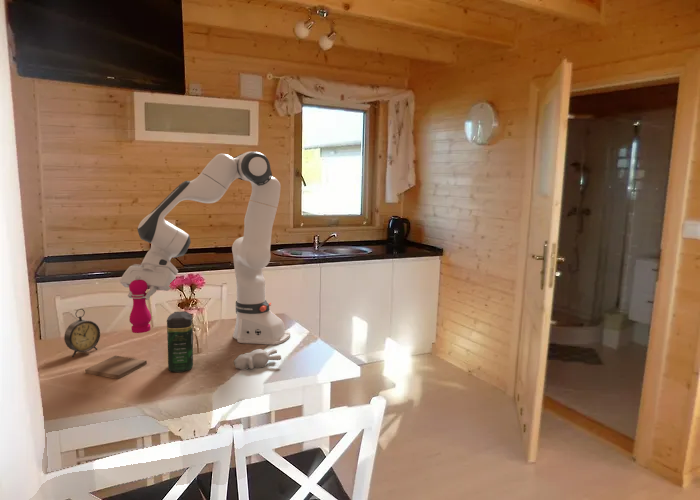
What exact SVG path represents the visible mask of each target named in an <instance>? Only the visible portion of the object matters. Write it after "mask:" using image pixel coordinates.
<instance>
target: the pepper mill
mask: <svg viewBox="0 0 700 500" xmlns="http://www.w3.org/2000/svg"><path fill="white" fill-rule="evenodd" d="M135 279H136V280H134V281H132V282H131V283H130V285H129V287H128V291H129V290H130V291H131V292H132V294H131V295H132V297H131V298H130V299H132V308H131V311H130V314H129V323H130V324H131V325H132V326H131V332H132V333H134V334H142V333H147V332H149V331H151V323H150V322H151V321H152V314H151V311H150V310H149V308H148V306H147V302H146V299H144V298H143V296H144V293H147V290H148V289H147V288H148V286H147V283H146V282H145V281H144V280H140V279H141V277H140V276H139V275H137V276H136V277H135Z"/></svg>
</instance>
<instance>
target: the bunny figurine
mask: <svg viewBox="0 0 700 500" xmlns="http://www.w3.org/2000/svg"><path fill="white" fill-rule="evenodd" d="M277 352H278V349H276V348H273V349H271V350H268V351H265V350H264V349H262V348H257V349H254V350H252V351H250V352H245V353H244V354H243V353H242V354H239V355H238V356H237V357H236V358H235V359H233V364H234V366H235V368H236V369H239V370H241V371H246V370H248V369H249V370H253V369H254V368H256V369H260V368H263V367H264V368H265V367H266V366H267V364H268V362H269V361H280V360H282V355H281V354H277Z"/></svg>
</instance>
